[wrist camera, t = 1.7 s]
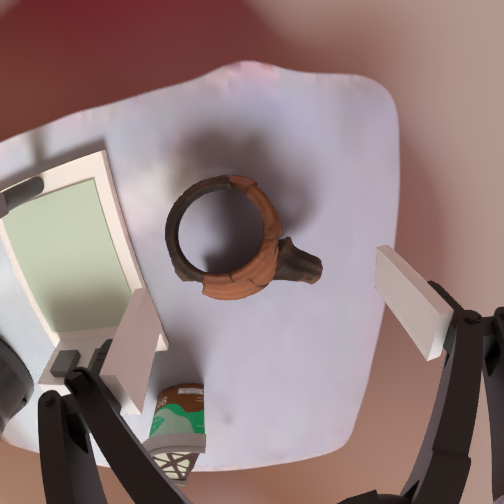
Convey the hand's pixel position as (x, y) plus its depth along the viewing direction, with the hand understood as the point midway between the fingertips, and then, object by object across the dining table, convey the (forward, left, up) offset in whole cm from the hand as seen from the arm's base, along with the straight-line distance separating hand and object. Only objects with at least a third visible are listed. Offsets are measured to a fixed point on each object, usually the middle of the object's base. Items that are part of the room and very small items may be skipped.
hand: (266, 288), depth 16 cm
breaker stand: (-17, -1, -10) cm, 20 cm away
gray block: (-17, +8, -9) cm, 21 cm away
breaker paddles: (-17, -8, -6) cm, 20 cm away
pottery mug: (-1, 0, -10) cm, 10 cm away
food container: (-13, -21, -10) cm, 27 cm away
